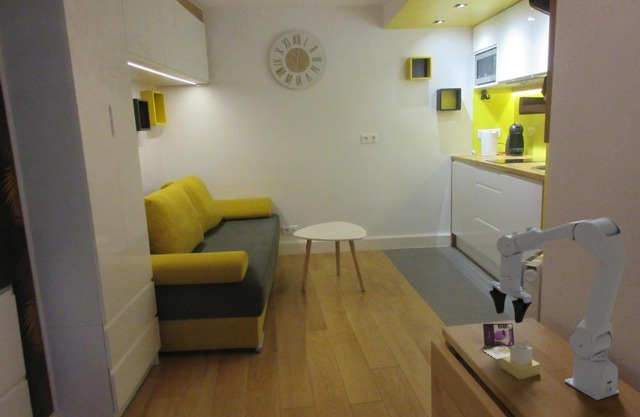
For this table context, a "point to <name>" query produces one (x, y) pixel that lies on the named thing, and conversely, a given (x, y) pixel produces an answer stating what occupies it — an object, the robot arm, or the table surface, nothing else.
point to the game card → (497, 334)
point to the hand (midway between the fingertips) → (509, 317)
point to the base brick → (520, 368)
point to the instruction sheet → (498, 352)
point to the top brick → (521, 354)
